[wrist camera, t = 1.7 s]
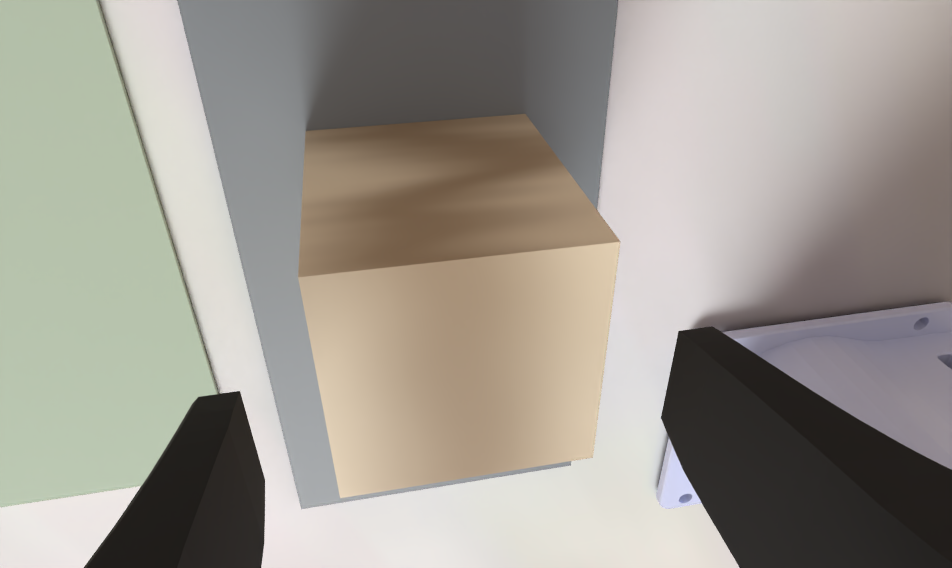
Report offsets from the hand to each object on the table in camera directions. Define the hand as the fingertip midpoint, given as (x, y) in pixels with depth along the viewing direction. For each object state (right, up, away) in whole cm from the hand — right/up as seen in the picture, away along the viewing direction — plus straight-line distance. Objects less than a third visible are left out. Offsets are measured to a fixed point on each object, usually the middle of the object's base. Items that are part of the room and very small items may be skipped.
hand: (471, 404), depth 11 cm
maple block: (-1, +4, +5) cm, 7 cm away
